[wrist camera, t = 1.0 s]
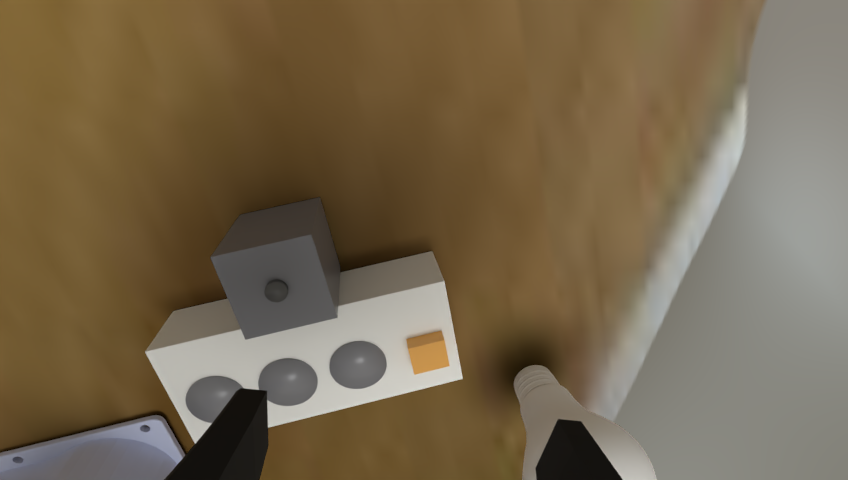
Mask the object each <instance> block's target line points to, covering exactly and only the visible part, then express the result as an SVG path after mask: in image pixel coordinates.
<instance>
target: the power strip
mask: <svg viewBox="0 0 848 480" xmlns="http://www.w3.org/2000/svg"><path fill="white" fill-rule="evenodd" d="M145 353H146V355H147V357H148V358H149V360H150V362H151V364H152V366H153V368H154V369H155V371H156V373H157V375H158V377H159V379H160V380H161V382H162V384H163V386H164V388H165V390H166V391H167V393H168V395H169V397H170V399H171V400H172V402H173V404H174V406H175V408H176V410H177V411H178V413H179V415H180V417H181V419H182V421H183V422H184V424H185V426H186V428H187V430H188V432H189V433H190V435H191V437H192V439H193V441H194V443H195V444H196V442H197V441H198V440H199V439H200V438H201V436H202V435H203V434H204V433H205V431H206V430H207V429H208V428H209V426H210V425H211V424H212V423H213V421H214V420H215V419H216V418H217V416H218V415H219V414H220V412H221V411H222V410H223V408H224V407H225V406H226V405H227V403H228V402H229V400H230V399H231V398H232V396H233V395H234V394H235V392H236V391H237V390H239V389H240V388H245V389H255V390H265V391H267V410H268V428H269V427H273V426H277V425H281V424H285V423H289V422H293V421H297V420H301V419H305V418H309V417H313V416H317V415H321V414H325V413H329V412H332V411H336V410H340V409H344V408H348V407H352V406H356V405H360V404H364V403H368V402H372V401H376V400H380V399H384V398H388V397H392V396H396V395H400V394H404V393H408V392H412V391H416V390H420V389H424V388H428V387H432V386H436V385H440V384H444V383H448V382H452V381H456V380H460V379H463V377H462V372H461V367H460V361H459V356H458V351H457V345H456V340H455V335H454V329H453V324H452V319H451V314H450V308H449V303H448V298H447V292H446V287H445V282H444V279H443V276H442V274H441V271H440V269H439V266H438V264H437V261H436V259H435V256H434V254H433V251H430V252H426V253H422V254H417V255H413V256H409V257H404V258H400V259H396V260H391V261H387V262H383V263H378V264H374V265H370V266H365V267H361V268H357V269H353V270H348V271H344V272H340V284H339V302H338V318H335V319H331V320H326V321H322V322H318V323H314V324H310V325H305V326H301V327H297V328H293V329H289V330H284V331H280V332H276V333H272V334H268V335H263V336H259V337H255V338H251V339H247V340H245V338H244V335H243V333H242V331H241V328H240V326H239V324H238V321H237V319H236V317H235V314H234V312H233V310H232V307H231V305H230V303H229V300H228V298H227V299H223V300H219V301H215V302H210V303H206V304H202V305H197V306H193V307H189V308H184V309H180V310H176V311H173V312H172V314H171V315H170V316H169V318H168V319H167V321H166V322H165V324H164V325H163V327H162V328H161V329H160V331H159V332H158V334H157V335H156V337H155V338H154V340H153V341H152V342H151V344H150V345H149V347H148V348H147V350H146V351H145Z"/></svg>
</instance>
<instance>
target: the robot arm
mask: <svg viewBox="0 0 848 480" xmlns="http://www.w3.org/2000/svg"><path fill="white" fill-rule="evenodd" d="M144 425H147V426H149V427H146V426H144ZM267 449H268V410H267V391H265V390H255V389H245V388H240V389H239V390H237V391H236V392H235V394H234V395H233V396H232V398H231V399H230V400H229V402H228V403H227V405H226V406H225V407H224V408H223V410H222V411H221V412H220V414H219V415H218V416H217V418H216V419H215V420H214V421H213V423H212V424H211V425H210V426H209V428H208V429H207V430H206V431H205V433H204V434H203V435H202V436H201V438H200V439H199V440H198V441H197V442H196V444H195V445H194V446H193V447H192V448H191V449H190V451H189V452H188V453H187V454H186V455H185V454H184V452H183V450H182V448H181V446H180V445H179V443H178V441H177V439H176V438H175V436H174V434H173V432H172V431H171V429H170V427H169V425H168V424H167V422H166V420H165V419H164V418H163V417H162V416H159V415H152V416H148V417H144V418H140V419H136V420H132V421H128V422H124V423H120V424H115V425H111V426H107V427H103V428H99V429H95V430H91V431H87V432H83V433H79V434H75V435H71V436H67V437H62V438H58V439H54V440H50V441H46V442H42V443H38V444H34V445H30V446H26V447H22V448H18V449H14V450H10V451H5V452H1V453H0V480H259V479H260V475H261V471H262V468H263V464H264V460H265V456H266V452H267ZM535 470H536V478H537V480H623V479H622V478H621V476H620V475H619V474H618V472H617V471H616V469H615V468H614V467H613V465H612V464H611V462H610V461H609V460H608V458H607V457H606V455H605V454H604V453H603V451H602V450H601V448H600V447H599V445H598V444H597V443H596V441H595V440H594V438H593V437H592V436H591V434H590V433H589V431H588V430H587V429H586V427H585V426H584V424H583V423H582V422H581V421H574V420H564V419H558V420H557V422H556V424H555V426H554V429H553V431H552V433H551V435H550V437H549V440H548V442H547V444H546V446H545V448H544V450H543V453H542V455H541V457H540V459H539V461H538V464H537V466H536V468H535Z"/></svg>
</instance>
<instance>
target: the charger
mask: <svg viewBox="0 0 848 480" xmlns="http://www.w3.org/2000/svg"><path fill="white" fill-rule="evenodd" d="M210 258H211V260H212V263H213V265H214V267H215V270H216V272H217V274H218V277H219V279H220V281H221V284H222V286H223V288H224V291H225V293H226V295H227V298H228V300H229V303H230V305H231V307H232V310H233V312H234V314H235V317H236V319H237V321H238V324H239V326H240V328H241V331H242V333H243V335H244V338H245V340H247V339H251V338H255V337H259V336H263V335H268V334H272V333H276V332H280V331H284V330H289V329H293V328H297V327H301V326H305V325H310V324H314V323H318V322H322V321H326V320H331V319H335V318H338V302H339V284H340V264H339V260H338V257H337V254H336V250H335V247H334V243H333V240H332V237H331V233H330V230H329V226H328V223H327V220H326V216H325V213H324V209H323V206H322V203H321V199H320V197H318V198H314V199H309V200H305V201H300V202H296V203H291V204H287V205H282V206H278V207H273V208H268V209H264V210H259V211H255V212H250V213H246V214H241V215H239V217H238V218H237V220H236V221H235V222H234V224H233V225H232V227H231V228H230V230H229V231H228V232H227V234H226V235H225V237H224V238H223V240H222V241H221V243H220V244H219V245H218V247H217V248H216V250H215V251H214V253H213V254H212V256H211V257H210Z"/></svg>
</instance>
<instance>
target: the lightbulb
mask: <svg viewBox="0 0 848 480" xmlns="http://www.w3.org/2000/svg"><path fill="white" fill-rule="evenodd" d="M514 389H515V393H516V395H517V398H518V400H519V403H520V405H521V406H520V412H521V417H522V419H523V422H524V425H525V429H526V435H527V444H526V449H525V454H524V465H523V475H522V478H523V480H537V478H536V470H535V468H536V466H537V464H538V461H539V459H540V457H541V455H542V453H543V450H544V448H545V446H546V444H547V442H548V440H549V437H550V435H551V433H552V431H553V429H554V426H555V424H556V422H557V420H558V419H564V420H574V421H581V422H582V423H583V424H584V426H585V427H586V429H587V430H588V431H589V433H590V434H591V436H592V437H593V438H594V440H595V441H596V443H597V444H598V445H599V447H600V448H601V450H602V451H603V453H604V454H605V455H606V457H607V458H608V460H609V461H610V462H611V464H612V465H613V467H614V468H615V469H616V471H617V472H618V474H619V475H620V476H621V478H622V479H623V480H657V478H656V475H655V471H654V468H653V466H652V463H651V461H650V459H649V457H648V455H647V454H646V453H645V451H644V450H643V448H642V447H641V446H640V444H639V443H638V441H637V440H636V439H635V438H634V437H632V436H631V435H630V434H629V433H628V432H627V431H625V430H624V429H623V428H622V427H621V426H619V425H617V424H615V423H613V422H612V421H610V420H608V419H606V418H604V417H602V416H600V415H597V414H595V413H592V412H590V411H588V410H587V409H585V408H584V407H582V406H581V405H580V404H579V403H578V402H577V401H576V400H575V399H574V398H573V396H572V395H571V394H570V392H569V391H568V390H567V389H566V388H565V387H563V386H561V385H559V383H558V381H557V380H556V379H555V377H554V376H553V374H552V373H551V372H550V371H549V369H547V368H546V367H544V366H541V365H531V366H528V367H525V368H524V369H522V370H521V371H520V372H519V373H518V374H517V376H516V378H515V380H514Z"/></svg>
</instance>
